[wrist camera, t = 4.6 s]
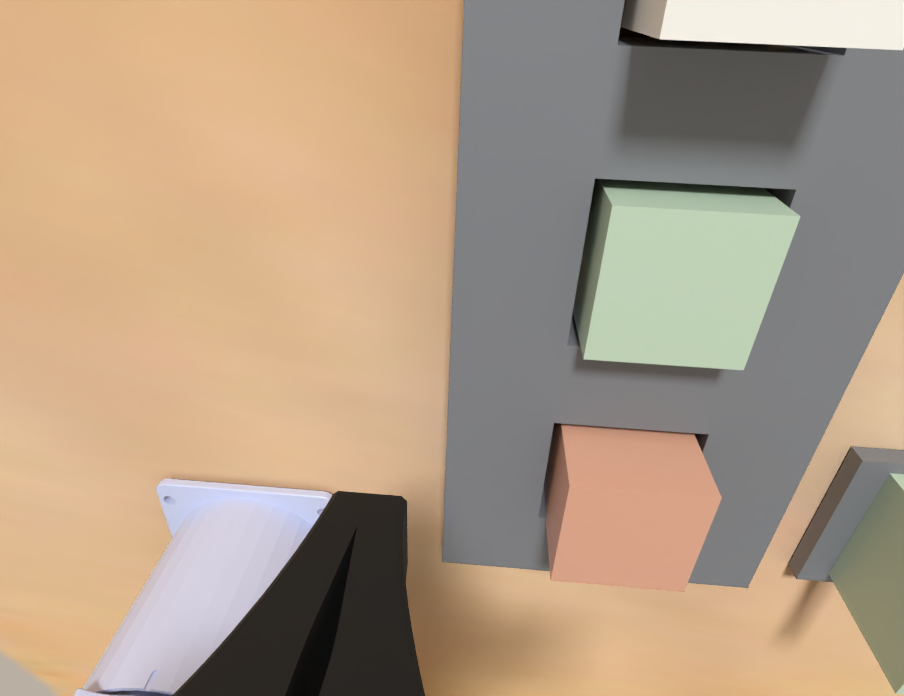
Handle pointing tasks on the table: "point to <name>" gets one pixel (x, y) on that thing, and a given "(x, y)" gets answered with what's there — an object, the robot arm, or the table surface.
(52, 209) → the table surface
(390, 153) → the table surface
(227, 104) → the table surface
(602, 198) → the sage block
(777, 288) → the button board
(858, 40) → the cream block
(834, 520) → the card
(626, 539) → the terracotta block
